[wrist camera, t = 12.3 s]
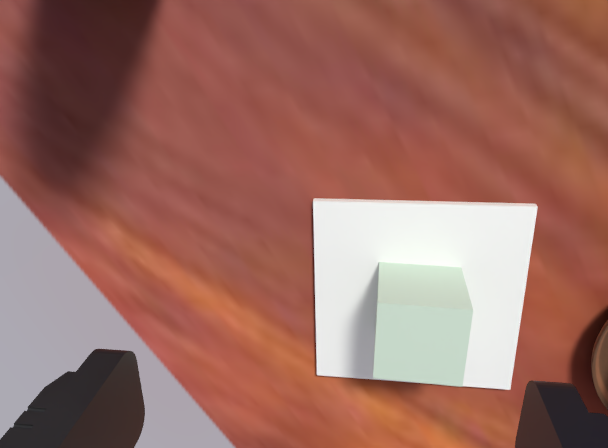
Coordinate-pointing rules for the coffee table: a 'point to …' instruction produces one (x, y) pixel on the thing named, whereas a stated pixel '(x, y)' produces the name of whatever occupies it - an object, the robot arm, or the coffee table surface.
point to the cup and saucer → (601, 365)
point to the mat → (423, 251)
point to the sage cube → (422, 324)
